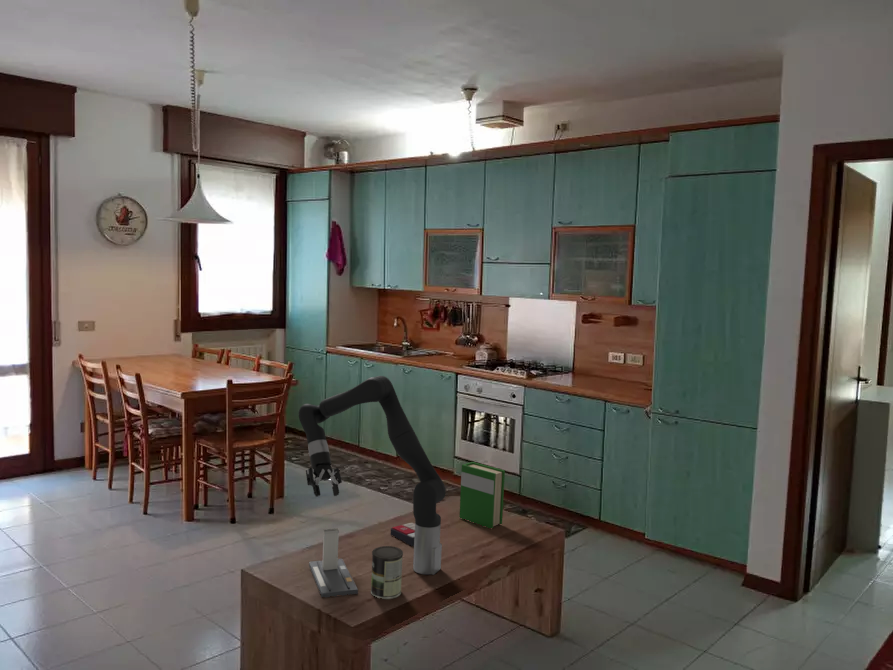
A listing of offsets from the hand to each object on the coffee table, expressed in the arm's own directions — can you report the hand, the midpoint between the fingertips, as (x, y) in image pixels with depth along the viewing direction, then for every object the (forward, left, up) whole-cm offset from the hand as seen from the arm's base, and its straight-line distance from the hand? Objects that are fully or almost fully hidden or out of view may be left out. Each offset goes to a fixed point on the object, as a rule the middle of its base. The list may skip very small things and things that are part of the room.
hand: (327, 495), depth 269 cm
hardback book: (-38, -63, -23) cm, 77 cm away
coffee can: (-34, +15, -23) cm, 44 cm away
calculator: (-20, -33, -24) cm, 45 cm away
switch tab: (-9, +12, -21) cm, 26 cm away
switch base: (-13, +16, -23) cm, 31 cm away
